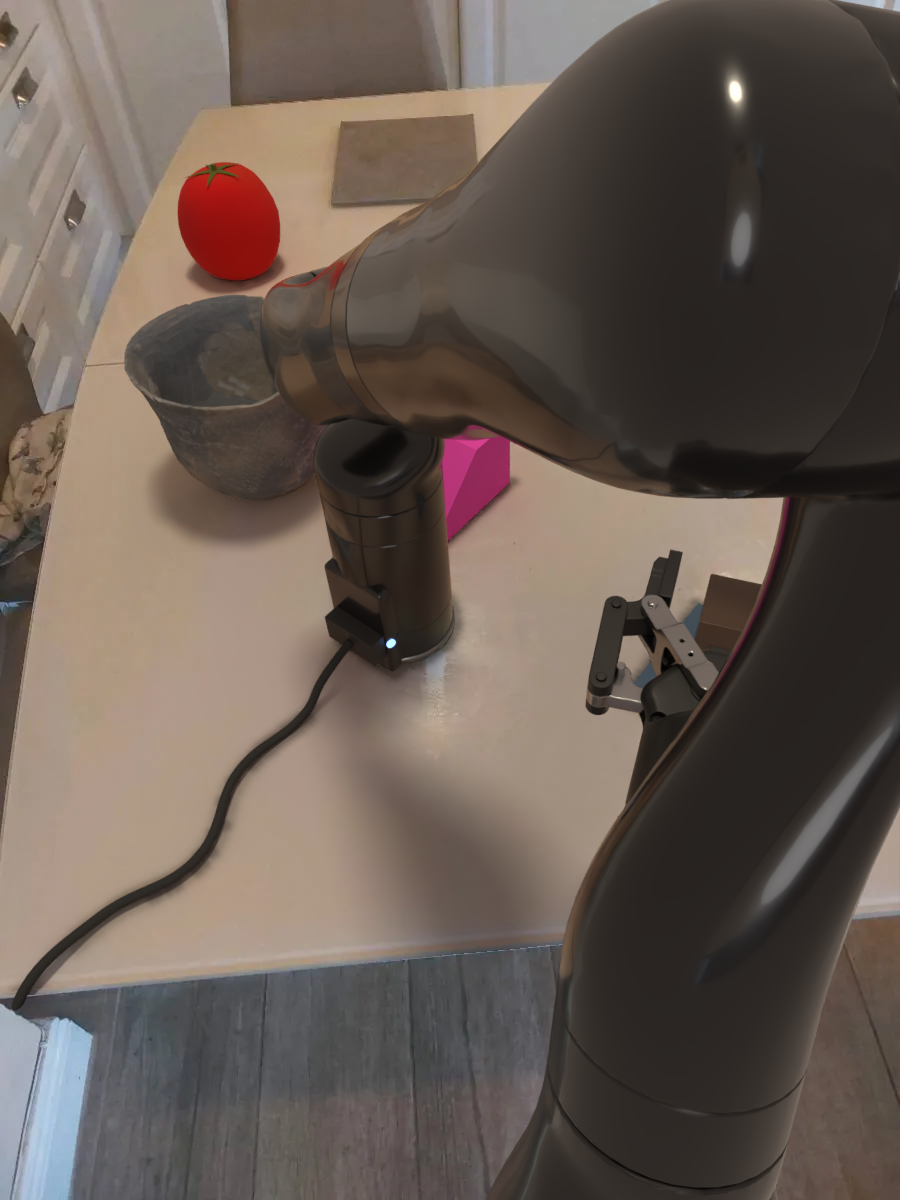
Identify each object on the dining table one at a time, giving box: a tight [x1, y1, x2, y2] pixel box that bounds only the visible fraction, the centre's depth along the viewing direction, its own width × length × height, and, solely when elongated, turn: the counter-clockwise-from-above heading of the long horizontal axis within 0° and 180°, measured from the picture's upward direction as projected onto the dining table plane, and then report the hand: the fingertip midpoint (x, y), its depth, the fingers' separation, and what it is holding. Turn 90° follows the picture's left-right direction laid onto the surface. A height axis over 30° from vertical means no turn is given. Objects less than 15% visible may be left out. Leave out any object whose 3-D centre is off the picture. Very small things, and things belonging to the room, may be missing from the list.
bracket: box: [442, 436, 511, 541], centre depth 86 cm, size 12×10×10 cm
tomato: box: [176, 161, 281, 281], centre depth 114 cm, size 13×11×14 cm
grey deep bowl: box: [123, 294, 328, 501], centre depth 87 cm, size 18×18×15 cm
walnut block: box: [694, 573, 762, 651], centre depth 70 cm, size 5×4×9 cm
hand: (752, 577), depth 49 cm, fingers open, 8 cm apart
